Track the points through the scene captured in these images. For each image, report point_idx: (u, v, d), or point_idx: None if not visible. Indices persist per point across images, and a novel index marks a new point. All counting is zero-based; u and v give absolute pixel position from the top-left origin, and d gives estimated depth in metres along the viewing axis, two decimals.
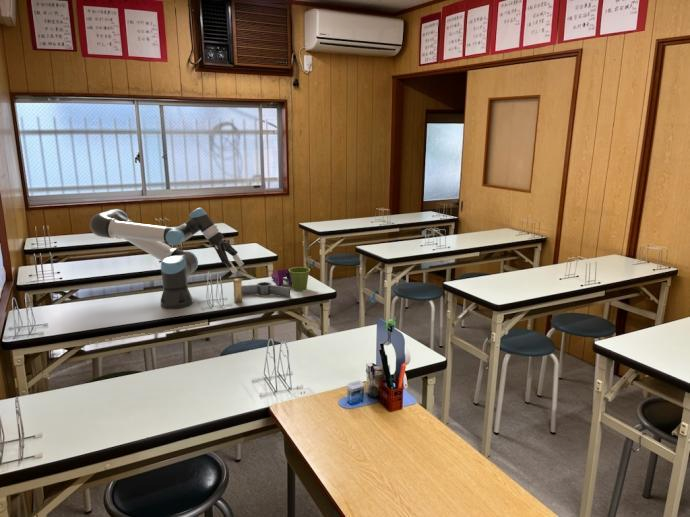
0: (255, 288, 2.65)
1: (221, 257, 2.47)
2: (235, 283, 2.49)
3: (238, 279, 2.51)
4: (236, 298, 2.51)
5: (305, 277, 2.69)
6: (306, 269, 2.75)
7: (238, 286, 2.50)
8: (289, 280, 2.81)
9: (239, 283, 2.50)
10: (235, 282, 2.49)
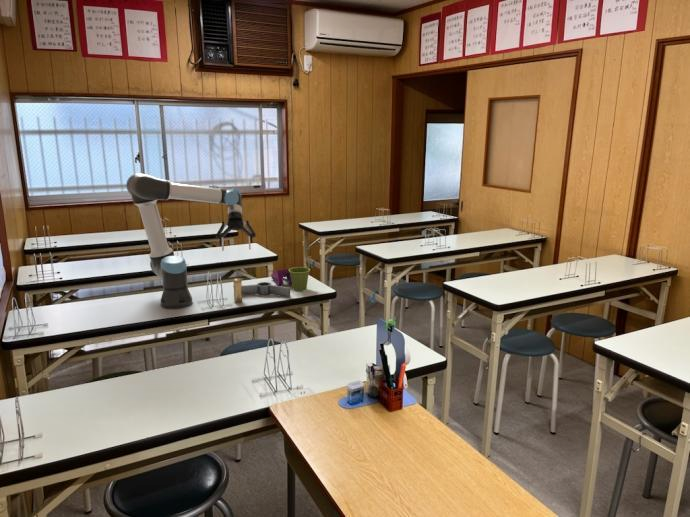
0: (255, 288, 2.65)
1: None
2: (235, 283, 2.49)
3: (238, 279, 2.51)
4: (236, 298, 2.51)
5: (305, 277, 2.69)
6: (306, 269, 2.75)
7: (238, 286, 2.50)
8: (289, 280, 2.81)
9: (239, 283, 2.50)
10: (235, 282, 2.49)
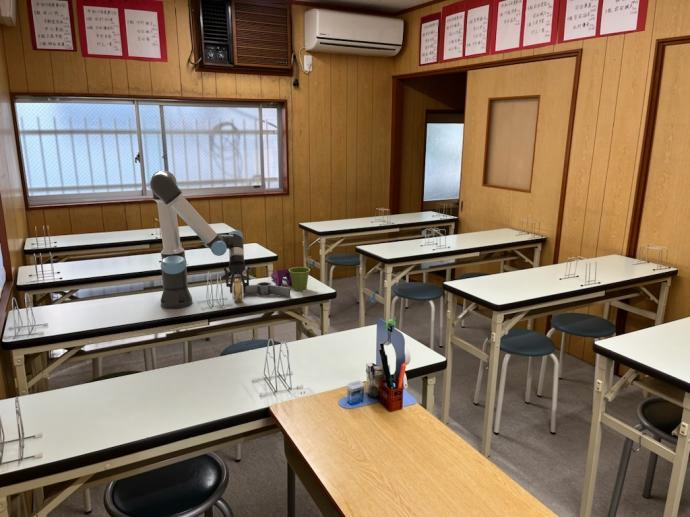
0: (255, 288, 2.65)
1: (248, 279, 2.55)
2: (235, 283, 2.49)
3: (238, 279, 2.51)
4: (236, 298, 2.51)
5: (305, 277, 2.69)
6: (306, 269, 2.75)
7: (238, 286, 2.50)
8: (289, 280, 2.81)
9: (239, 283, 2.50)
10: (235, 282, 2.49)
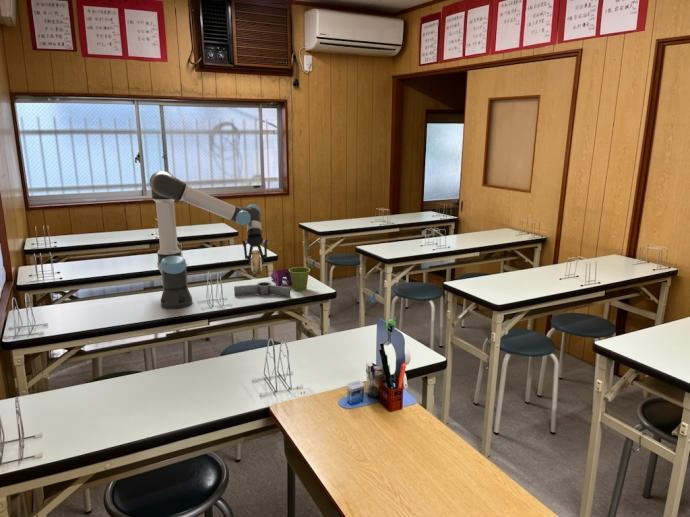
0: (255, 288, 2.65)
1: (266, 251, 2.61)
2: (253, 255, 2.55)
3: (256, 251, 2.56)
4: (255, 269, 2.57)
5: (305, 277, 2.69)
6: (306, 269, 2.75)
7: (256, 258, 2.55)
8: (289, 280, 2.81)
9: (257, 255, 2.55)
10: (253, 254, 2.55)
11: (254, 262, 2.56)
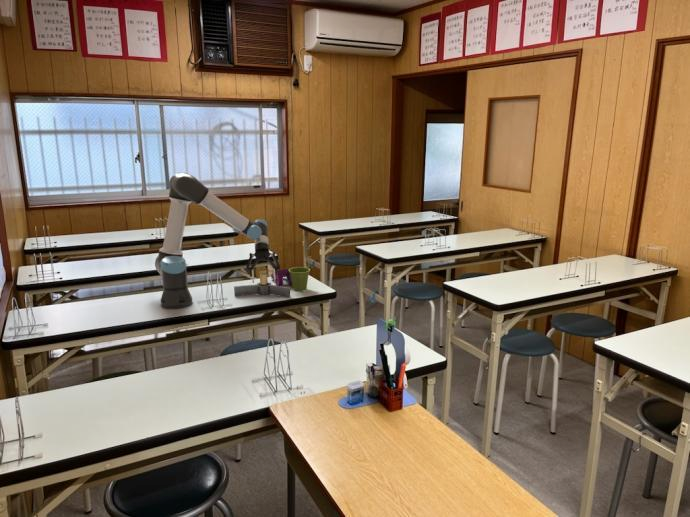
0: (255, 288, 2.65)
1: None
2: (261, 275, 2.63)
3: (264, 271, 2.65)
4: None
5: (305, 277, 2.69)
6: (306, 269, 2.75)
7: (264, 278, 2.64)
8: (289, 280, 2.82)
9: (265, 275, 2.64)
10: (261, 274, 2.63)
11: (262, 282, 2.64)
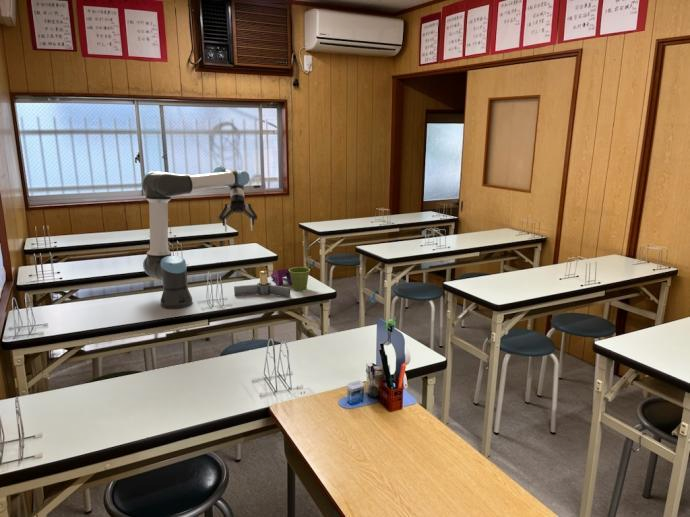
0: (255, 288, 2.65)
1: None
2: (261, 275, 2.63)
3: (264, 271, 2.65)
4: None
5: (305, 277, 2.69)
6: (306, 269, 2.75)
7: (264, 278, 2.64)
8: (289, 280, 2.82)
9: (265, 275, 2.64)
10: (261, 274, 2.63)
11: (262, 282, 2.64)
